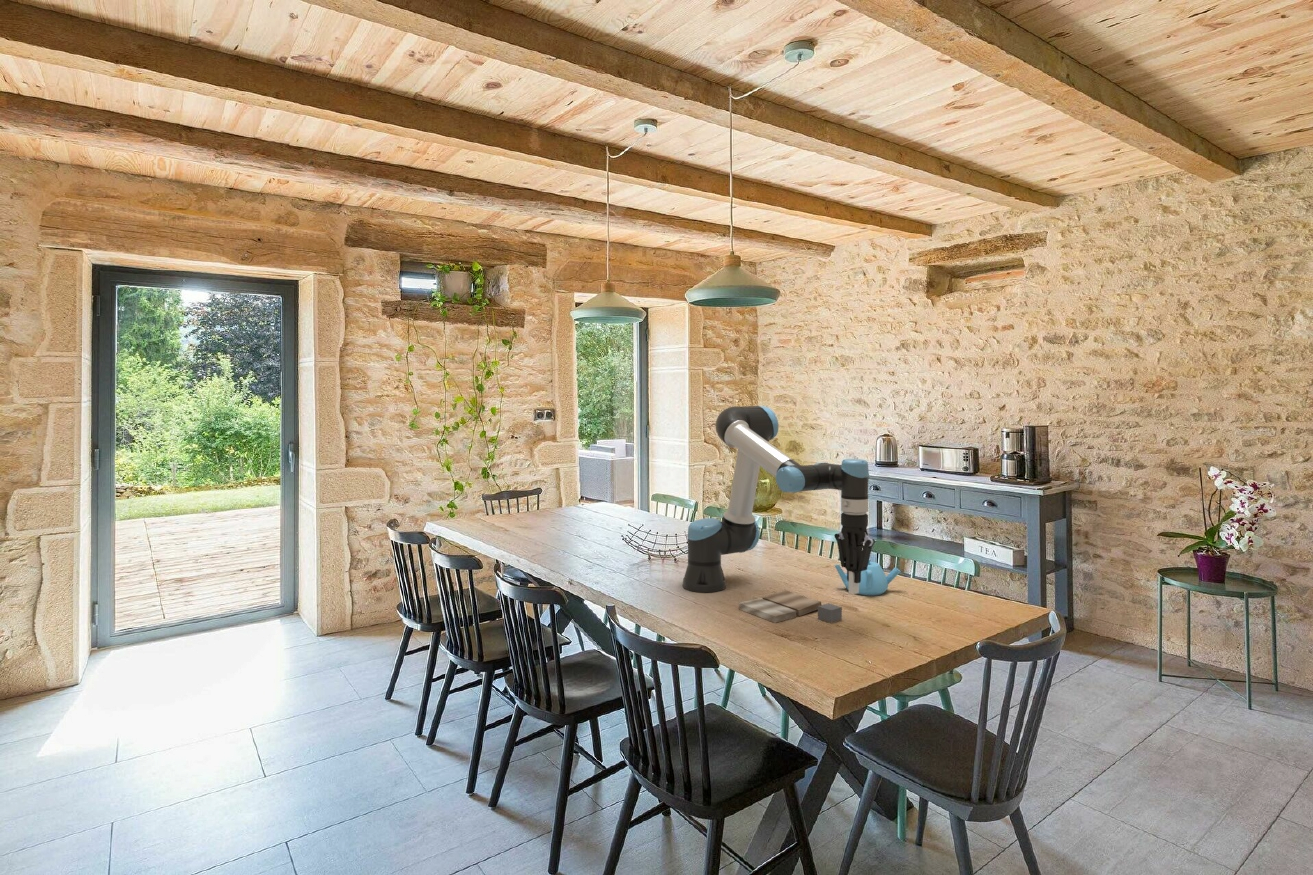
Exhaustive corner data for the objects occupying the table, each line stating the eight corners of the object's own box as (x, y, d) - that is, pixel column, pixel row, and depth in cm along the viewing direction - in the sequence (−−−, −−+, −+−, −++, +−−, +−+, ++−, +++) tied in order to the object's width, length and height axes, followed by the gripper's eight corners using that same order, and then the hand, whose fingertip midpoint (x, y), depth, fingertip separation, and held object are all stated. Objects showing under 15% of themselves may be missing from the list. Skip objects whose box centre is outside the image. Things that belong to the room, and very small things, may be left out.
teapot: (876, 600, 230) (877, 567, 229) (832, 589, 243) (833, 557, 242) (901, 592, 240) (902, 559, 239) (858, 581, 253) (858, 551, 252)
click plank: (762, 603, 227) (762, 597, 226) (784, 595, 232) (784, 589, 232) (799, 616, 214) (798, 609, 213) (821, 607, 219) (821, 601, 219)
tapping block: (817, 619, 212) (817, 606, 211) (828, 615, 215) (828, 603, 214) (830, 623, 208) (831, 610, 207) (841, 620, 211) (841, 607, 210)
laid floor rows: (738, 609, 221) (738, 602, 221) (759, 604, 226) (759, 597, 226) (774, 622, 208) (775, 616, 208) (796, 617, 213) (796, 610, 213)
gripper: (828, 511, 205) (827, 590, 206) (864, 517, 194) (863, 600, 196) (845, 508, 209) (844, 586, 211) (881, 514, 199) (880, 596, 200)
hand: (853, 593), depth 203 cm, fingers closed
